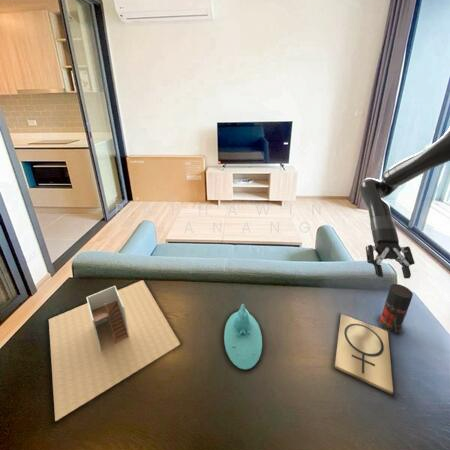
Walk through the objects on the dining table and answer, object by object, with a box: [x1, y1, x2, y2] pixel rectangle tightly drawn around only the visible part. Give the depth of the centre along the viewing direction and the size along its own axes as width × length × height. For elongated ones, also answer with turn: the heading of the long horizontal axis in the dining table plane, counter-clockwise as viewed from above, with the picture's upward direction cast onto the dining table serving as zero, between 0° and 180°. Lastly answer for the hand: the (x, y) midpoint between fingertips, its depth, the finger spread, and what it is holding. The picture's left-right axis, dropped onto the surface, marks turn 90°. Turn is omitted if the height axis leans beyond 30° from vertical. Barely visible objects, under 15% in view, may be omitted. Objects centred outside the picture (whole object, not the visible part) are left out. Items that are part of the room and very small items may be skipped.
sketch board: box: [334, 313, 394, 395], centre depth 75 cm, size 14×20×1 cm
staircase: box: [85, 285, 130, 352], centre depth 77 cm, size 9×11×17 cm
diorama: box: [223, 303, 263, 371], centre depth 77 cm, size 12×20×9 cm, turn 0°
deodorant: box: [379, 283, 414, 334], centre depth 80 cm, size 6×6×15 cm
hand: (393, 277), depth 81 cm, fingers open, 8 cm apart
